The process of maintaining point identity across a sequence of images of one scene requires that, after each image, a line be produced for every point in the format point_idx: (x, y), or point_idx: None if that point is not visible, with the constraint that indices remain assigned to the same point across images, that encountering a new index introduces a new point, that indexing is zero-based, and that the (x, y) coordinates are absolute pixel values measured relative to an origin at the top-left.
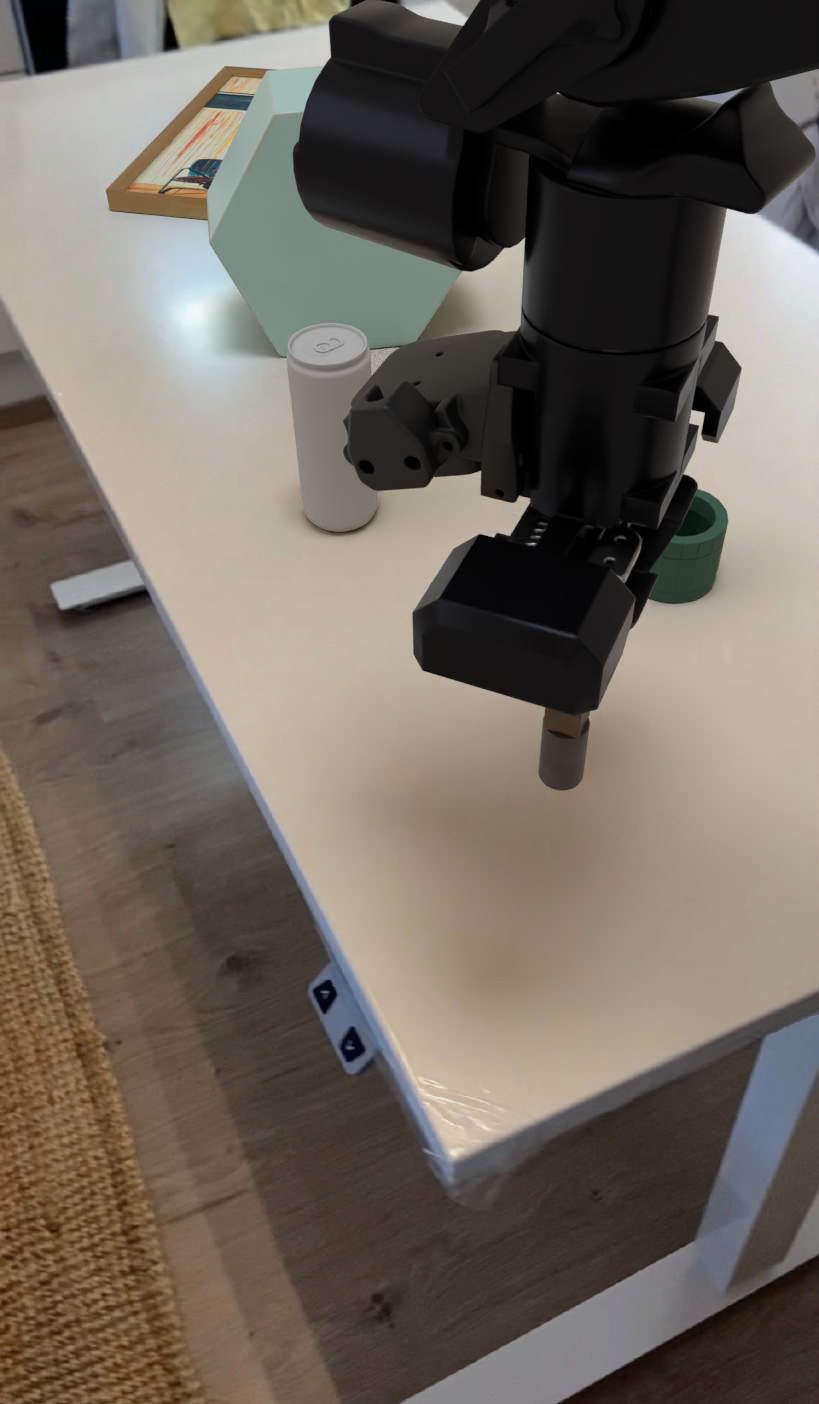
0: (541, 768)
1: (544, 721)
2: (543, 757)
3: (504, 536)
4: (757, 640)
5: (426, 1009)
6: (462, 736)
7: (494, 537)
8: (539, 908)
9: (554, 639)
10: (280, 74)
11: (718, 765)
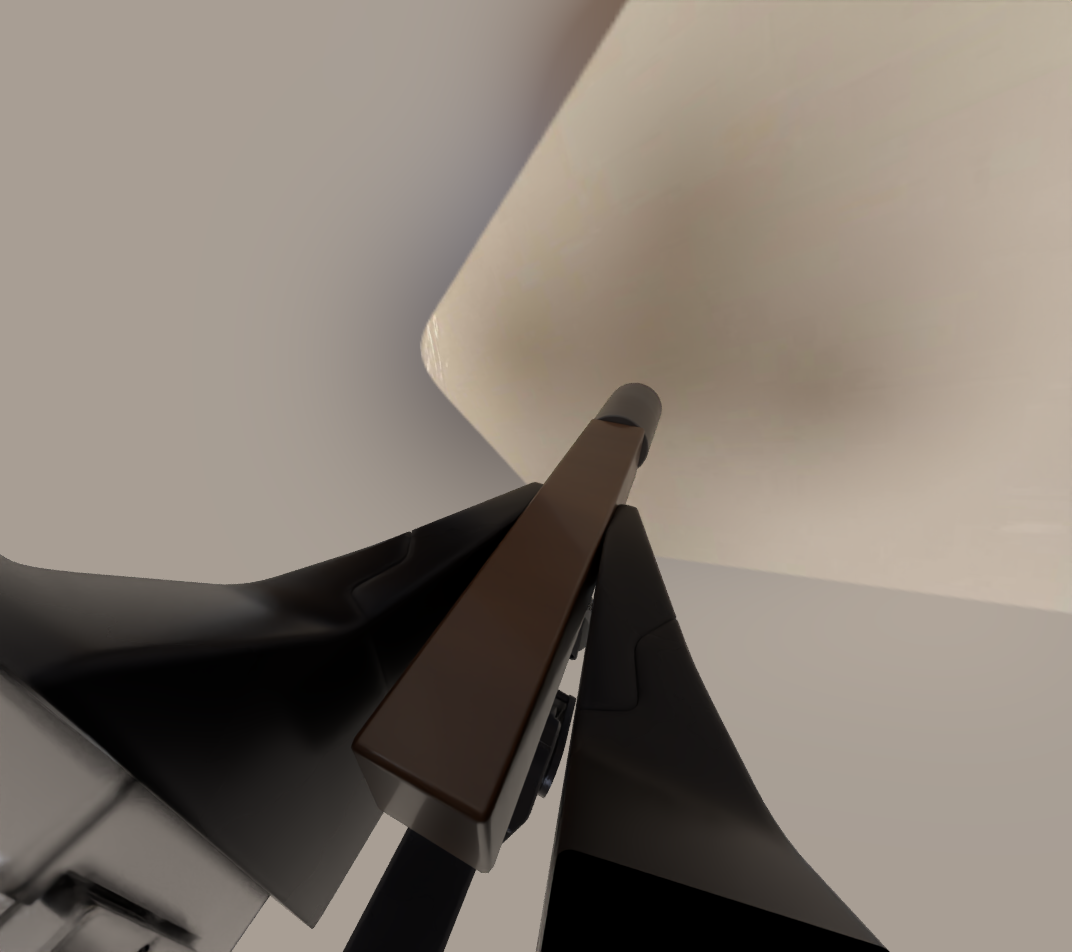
0: (613, 394)
1: (588, 424)
2: (607, 402)
3: (57, 706)
4: (1058, 561)
5: (478, 302)
6: (838, 204)
7: (12, 663)
8: (592, 370)
9: None
10: None
11: (799, 508)
